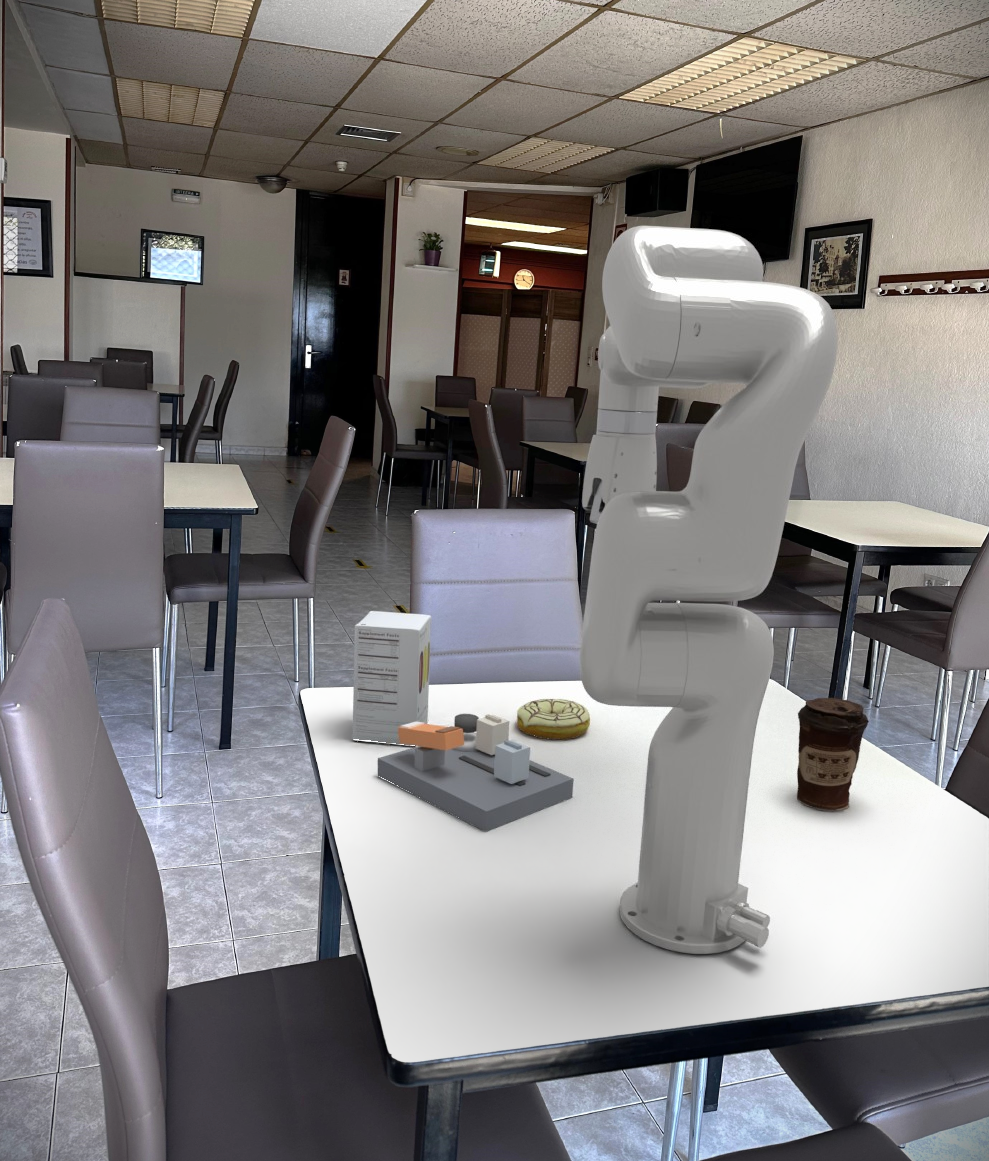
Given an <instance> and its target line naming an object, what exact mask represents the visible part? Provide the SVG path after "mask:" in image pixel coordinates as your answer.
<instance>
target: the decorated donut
mask: <svg viewBox="0 0 989 1161" xmlns="http://www.w3.org/2000/svg"><path fill="white" fill-rule="evenodd" d="M590 715H591V714H590V713H589V710H588V709H587V707H585V706H584V705H583V704H580V703H578V702H576V701H573V700H568V699H563V698H542V699H535V700H532V701H531V700H530V701H528V702H526V703H525V704H523V705H522V706H520V707H519V708H518V709H517V712H516V718H517V719H516V724H517V728H518V729H519V730H520V729H521V730H520V731H522V732H523V733H525V734H527V735H529V736H534V735H535V736H534V737H536V736H537V737H536V738H538V737H542V738H544V739H547V738H549V739H548V740H553V739H556V740H560V739H564V740H567V739H574V738H573V737H575V738H577V737H580V736H582V735H583V734H585V733H586V732H587V730H589V727H590V723H591V718H590ZM542 738H541V739H542Z"/></svg>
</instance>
